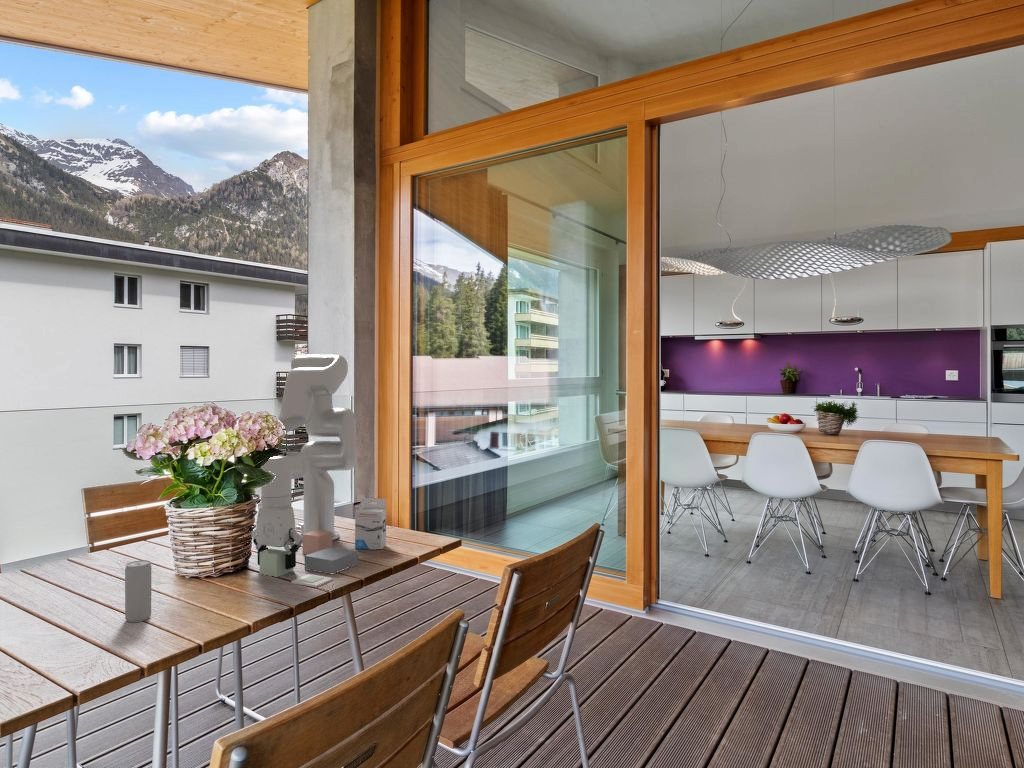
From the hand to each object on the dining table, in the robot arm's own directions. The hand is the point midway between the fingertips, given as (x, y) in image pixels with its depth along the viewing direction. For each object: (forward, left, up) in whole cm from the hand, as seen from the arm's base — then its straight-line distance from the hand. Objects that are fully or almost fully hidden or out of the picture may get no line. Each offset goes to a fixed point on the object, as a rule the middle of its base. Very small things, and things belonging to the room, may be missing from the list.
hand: (276, 565), depth 161 cm
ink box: (+8, +30, -2) cm, 31 cm away
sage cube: (0, 0, -2) cm, 2 cm away
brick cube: (-3, +19, -2) cm, 19 cm away
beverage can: (-3, -36, -2) cm, 36 cm away
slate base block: (+10, +10, -2) cm, 14 cm away
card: (+14, -2, -2) cm, 14 cm away
